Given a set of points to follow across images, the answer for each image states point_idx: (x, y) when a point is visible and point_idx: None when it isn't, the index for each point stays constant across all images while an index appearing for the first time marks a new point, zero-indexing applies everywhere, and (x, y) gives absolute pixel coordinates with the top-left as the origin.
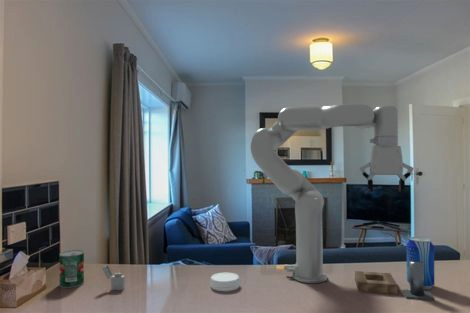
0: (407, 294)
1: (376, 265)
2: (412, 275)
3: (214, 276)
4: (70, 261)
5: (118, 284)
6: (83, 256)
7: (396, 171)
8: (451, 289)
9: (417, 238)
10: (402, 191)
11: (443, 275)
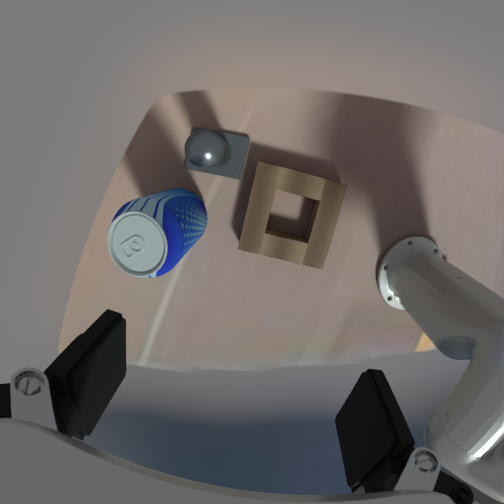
0: (241, 148)
1: (226, 352)
2: (224, 142)
3: None
4: None
5: None
6: None
7: (51, 480)
8: (128, 195)
9: (137, 266)
10: (111, 311)
11: (109, 280)
